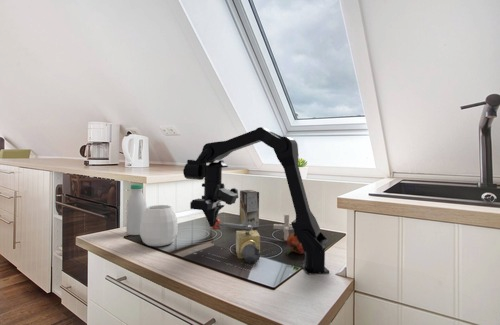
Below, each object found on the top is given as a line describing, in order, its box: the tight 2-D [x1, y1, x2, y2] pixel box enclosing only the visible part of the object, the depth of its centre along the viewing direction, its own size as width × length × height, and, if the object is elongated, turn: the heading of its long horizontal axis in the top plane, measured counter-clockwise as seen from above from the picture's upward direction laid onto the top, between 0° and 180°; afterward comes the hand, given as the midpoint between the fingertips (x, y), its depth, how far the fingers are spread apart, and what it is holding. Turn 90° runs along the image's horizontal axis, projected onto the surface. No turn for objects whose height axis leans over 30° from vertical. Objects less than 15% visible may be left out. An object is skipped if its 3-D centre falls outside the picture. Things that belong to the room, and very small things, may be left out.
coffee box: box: [238, 189, 260, 229], centre depth 136 cm, size 9×6×16 cm
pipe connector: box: [273, 213, 294, 242], centre depth 114 cm, size 10×10×10 cm
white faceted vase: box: [139, 204, 179, 247], centre depth 107 cm, size 13×13×14 cm
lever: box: [210, 218, 254, 231], centre depth 99 cm, size 15×3×3 cm, turn 68°
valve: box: [235, 230, 261, 265], centre depth 97 cm, size 17×7×8 cm, turn 9°
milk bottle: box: [125, 183, 148, 236], centre depth 120 cm, size 8×8×20 cm
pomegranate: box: [286, 232, 305, 256], centre depth 99 cm, size 7×7×10 cm
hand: (212, 226), depth 99 cm, fingers closed
